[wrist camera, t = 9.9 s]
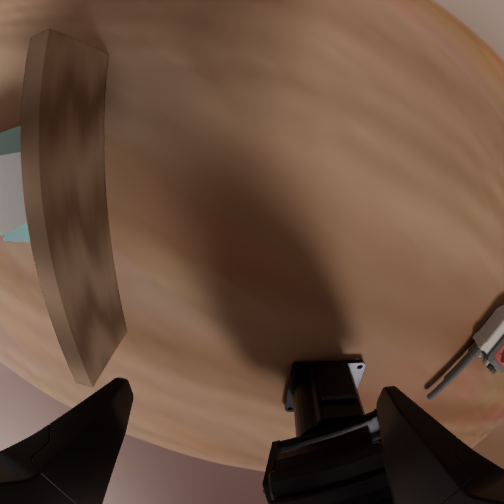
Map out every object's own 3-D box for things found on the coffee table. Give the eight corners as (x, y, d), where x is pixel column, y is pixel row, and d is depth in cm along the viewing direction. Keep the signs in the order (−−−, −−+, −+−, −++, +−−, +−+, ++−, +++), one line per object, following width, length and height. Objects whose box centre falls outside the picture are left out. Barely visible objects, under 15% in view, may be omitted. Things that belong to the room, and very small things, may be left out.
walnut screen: (127, 331, 23) (92, 387, 16) (112, 329, 23) (76, 382, 16) (108, 54, 15) (49, 28, 8) (91, 58, 15) (30, 37, 8)
